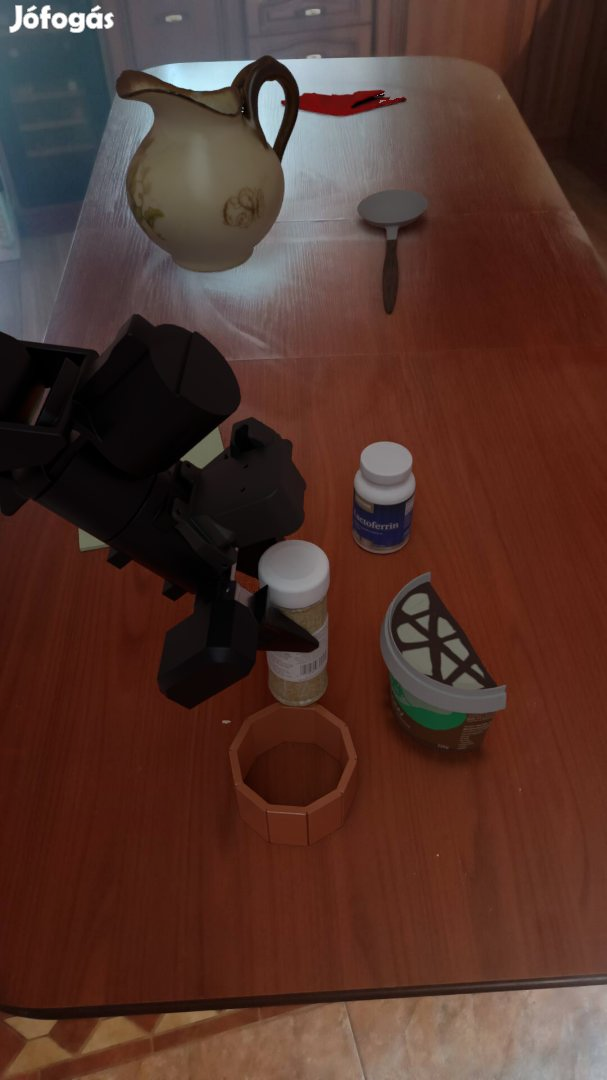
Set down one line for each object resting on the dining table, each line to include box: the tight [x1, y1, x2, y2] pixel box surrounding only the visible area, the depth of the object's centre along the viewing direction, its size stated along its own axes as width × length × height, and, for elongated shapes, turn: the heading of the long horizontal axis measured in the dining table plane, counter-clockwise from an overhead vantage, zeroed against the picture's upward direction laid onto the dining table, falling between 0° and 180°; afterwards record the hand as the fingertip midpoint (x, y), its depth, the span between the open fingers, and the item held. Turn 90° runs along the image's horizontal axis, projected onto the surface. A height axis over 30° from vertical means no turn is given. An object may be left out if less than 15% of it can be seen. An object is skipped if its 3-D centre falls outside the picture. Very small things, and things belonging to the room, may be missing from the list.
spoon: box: [356, 189, 429, 313], centre depth 118 cm, size 11×33×3 cm, turn 175°
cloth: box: [280, 89, 408, 117], centre depth 164 cm, size 26×14×2 cm, turn 79°
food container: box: [379, 571, 507, 754], centre depth 61 cm, size 12×6×10 cm, turn 21°
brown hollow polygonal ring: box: [228, 700, 358, 847], centre depth 59 cm, size 9×9×5 cm
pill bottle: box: [351, 441, 417, 555], centre depth 75 cm, size 6×6×10 cm
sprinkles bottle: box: [258, 539, 331, 707], centre depth 55 cm, size 5×5×13 cm
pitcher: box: [115, 54, 301, 273], centre depth 112 cm, size 22×24×25 cm
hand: (315, 621), depth 55 cm, fingers closed on sprinkles bottle, 4 cm apart
